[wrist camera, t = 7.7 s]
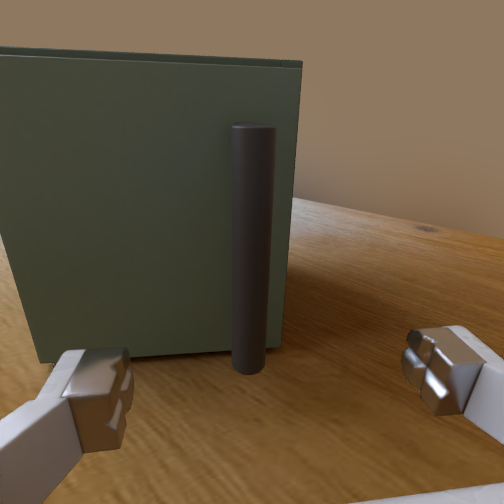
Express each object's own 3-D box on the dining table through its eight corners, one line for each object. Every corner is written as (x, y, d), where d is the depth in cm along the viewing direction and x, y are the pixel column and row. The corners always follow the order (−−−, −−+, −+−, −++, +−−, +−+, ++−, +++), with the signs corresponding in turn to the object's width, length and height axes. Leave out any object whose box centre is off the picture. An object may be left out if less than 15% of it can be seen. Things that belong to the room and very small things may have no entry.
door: (299, 405, 18) (339, 51, 11) (-7, 434, 16) (-182, 24, 9) (277, 338, 23) (296, 70, 17) (46, 353, 21) (-40, 55, 15)
